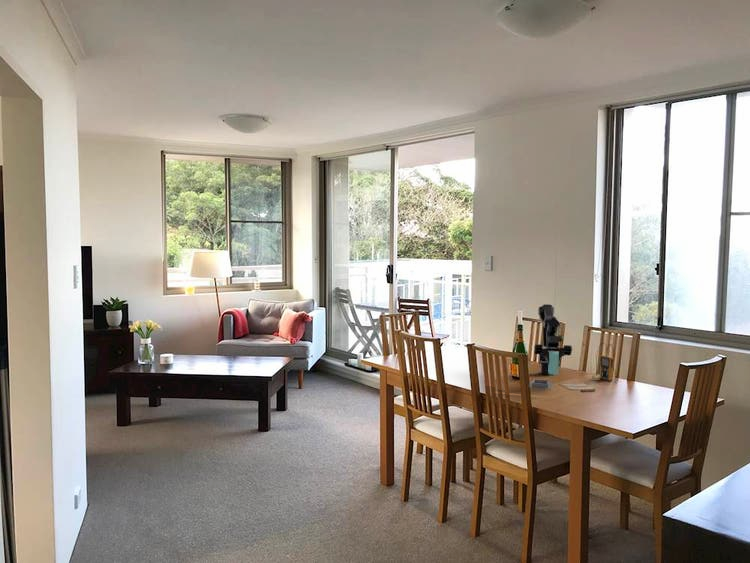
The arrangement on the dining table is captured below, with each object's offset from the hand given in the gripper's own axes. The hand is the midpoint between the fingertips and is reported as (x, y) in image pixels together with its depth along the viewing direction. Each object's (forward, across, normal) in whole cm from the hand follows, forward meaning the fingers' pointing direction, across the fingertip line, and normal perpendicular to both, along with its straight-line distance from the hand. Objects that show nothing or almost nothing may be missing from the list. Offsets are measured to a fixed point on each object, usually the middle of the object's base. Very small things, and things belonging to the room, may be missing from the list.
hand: (553, 363), depth 303 cm
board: (+7, +12, +12) cm, 18 cm away
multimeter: (-8, +28, +28) cm, 41 cm away
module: (+3, 0, +5) cm, 6 cm away
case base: (+8, -6, +11) cm, 15 cm away
